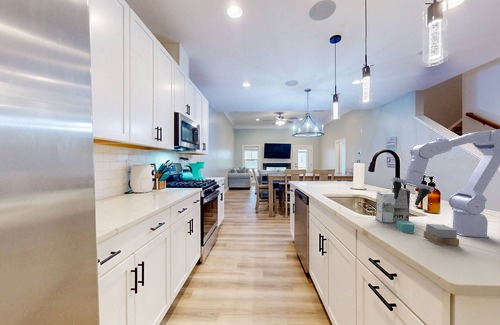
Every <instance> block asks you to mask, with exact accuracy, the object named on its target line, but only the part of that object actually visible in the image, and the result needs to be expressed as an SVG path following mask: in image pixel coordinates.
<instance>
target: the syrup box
mask: <svg viewBox="0 0 500 325" xmlns="http://www.w3.org/2000/svg"><path fill="white" fill-rule="evenodd" d="M375 202H376V203H375V204H376V205H375V220H376V221H379V222H380V223H386V224H387V223H388V224H390V223H391V224H395V222H394V208H395V199H394V193H392V191H376V201H375Z"/></svg>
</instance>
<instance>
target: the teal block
mask: <svg viewBox="0 0 500 325" xmlns="http://www.w3.org/2000/svg"><path fill="white" fill-rule="evenodd" d="M396 229H397V230H398V229H399V231H400V232H402V233H412V234H414V233H415V224H414V223H412V222H410V221H409V222H407V221H397V223H396Z"/></svg>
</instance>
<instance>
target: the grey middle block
mask: <svg viewBox="0 0 500 325" xmlns="http://www.w3.org/2000/svg"><path fill="white" fill-rule="evenodd" d="M425 231H427V232H429V233H430V234H432V235H434V236H436V237H442V238H457V235H458V234H457V230H455V229H453V227H450V226H448V225H445V224H439V223H438V224H437V223H436V224H435V223H426V227H425ZM457 239H458V238H457Z"/></svg>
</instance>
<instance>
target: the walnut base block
mask: <svg viewBox="0 0 500 325" xmlns="http://www.w3.org/2000/svg"><path fill="white" fill-rule="evenodd" d="M423 238H425V240H428V241H430V242H431V243H433V244H435V245H438V246H446V247H448V246H449V247H458V246H459V247H460V239H459V238H442V237H436V236H434V235H432V234H430V233H429V232H427V231H426V230H423Z"/></svg>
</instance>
